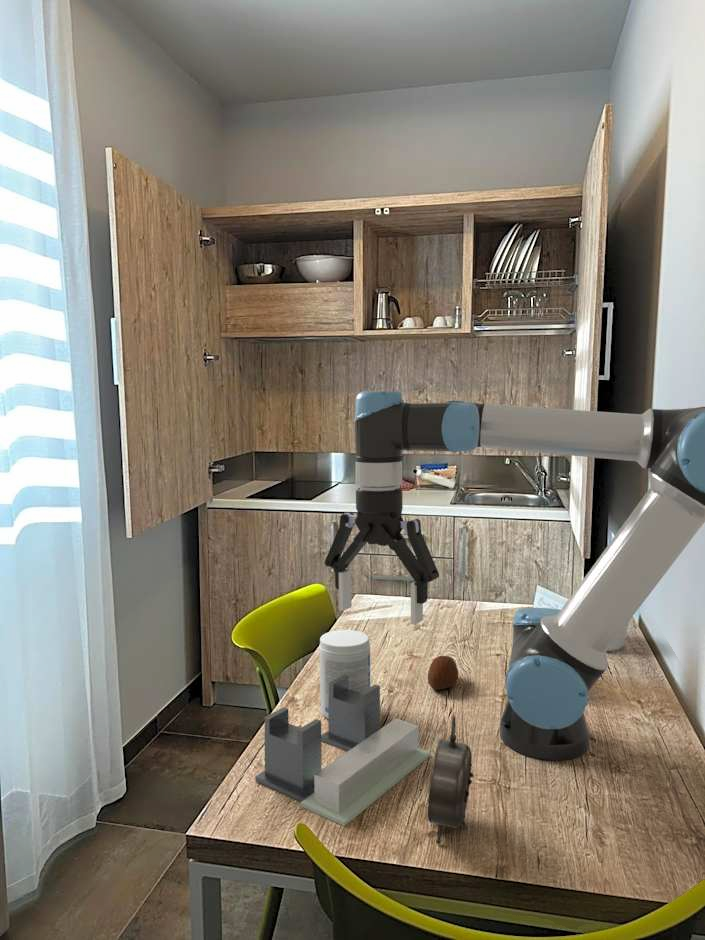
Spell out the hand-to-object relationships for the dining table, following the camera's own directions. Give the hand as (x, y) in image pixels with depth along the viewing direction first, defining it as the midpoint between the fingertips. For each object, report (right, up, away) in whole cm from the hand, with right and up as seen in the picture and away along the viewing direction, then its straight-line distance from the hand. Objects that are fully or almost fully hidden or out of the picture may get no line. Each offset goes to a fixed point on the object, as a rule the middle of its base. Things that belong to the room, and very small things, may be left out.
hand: (380, 615), depth 116 cm
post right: (-4, -23, +7) cm, 25 cm away
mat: (-2, -25, -5) cm, 25 cm away
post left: (-14, -25, -6) cm, 29 cm away
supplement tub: (-6, -22, +18) cm, 29 cm away
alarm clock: (+9, -26, -17) cm, 33 cm away
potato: (+14, -21, +30) cm, 40 cm away
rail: (-2, -24, -5) cm, 25 cm away
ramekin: (+55, -18, +55) cm, 80 cm away
